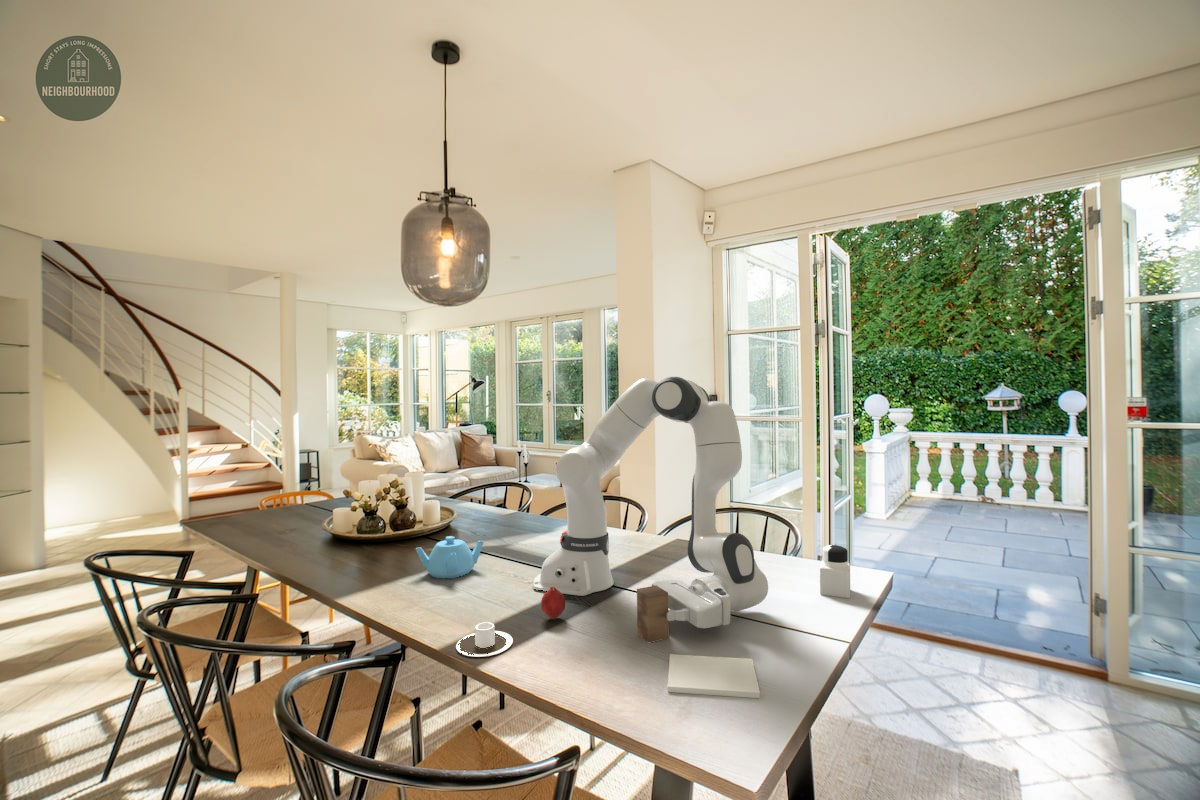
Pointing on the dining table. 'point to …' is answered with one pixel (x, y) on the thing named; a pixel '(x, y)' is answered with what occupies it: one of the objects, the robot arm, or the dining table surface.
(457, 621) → the dining table surface
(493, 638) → the candle holder
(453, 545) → the teapot
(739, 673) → the serving plate
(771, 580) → the dining table surface
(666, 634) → the walnut block
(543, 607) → the onion
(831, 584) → the medicine bottle
